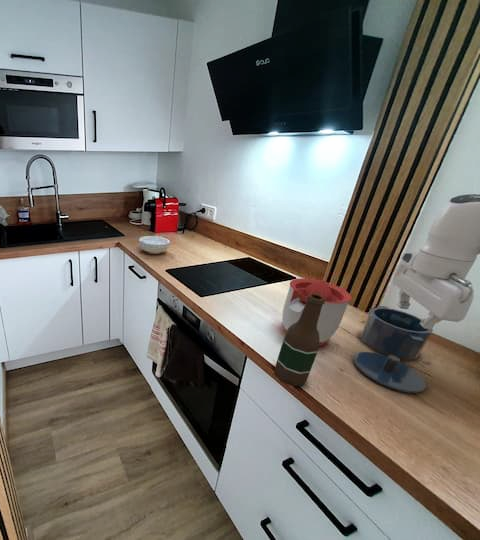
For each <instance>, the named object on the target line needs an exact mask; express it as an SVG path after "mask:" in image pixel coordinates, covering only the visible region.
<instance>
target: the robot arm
mask: <svg viewBox="0 0 480 540" xmlns="http://www.w3.org/2000/svg"><path fill="white" fill-rule="evenodd" d="M478 255H480V194H477V193H476V194H475V193H472V194H471V193H470V194H461V195H457V196H454V197H451V198H450V199H449V200H448V201H446V202H445V203H444V205H442V207H441V209H440V210H439V211H438V212H437V214H436V216H435V217H434V219H433V221H432V223H431V226H430V227H429V229H428V232H427V239H426V240H425V242H424V243H423V244H422V245H421V247H420V248H419V249H418V252H416V251H415V252H412V251H404V252H402V253H401V256H400V260H401V261H400V262H399V263H398V265H397V266H396V270H395V271H394V274H393V276H392V284H393V285H394V286H396V288H398V289H400V290H399V294H398V299H399V300H398V302H397V304H396V305H397V306H398V307H399V308H400V309H402V310H408V309H409V308H410V306H411V303H410V300H411V299H412V300H414V301H415V302H417V303H418V304H420V305H421V306H422V307H423V308H424V309H426V310H427V311H428V314H427V315H428V317H426V318H421V319H422V320H421V322H420V325H421V326H422V327H423V328H425V329H433V328H434V327H435V325H436V324H438V323H440V322H441V321H447V322H454V323H455V322H456V323H459V322H461V321H463V320H465V318H466V317H467V315H468V312H469V311H470V309H471V306H472V303H473V301H474V297H475V293H474V291H475V290H474V288H473V284H472V282H471V281H470V280H468V279H466V278H467V276H468V275H469V273H470V271H471V269H472V267H473V265H474V264H475V262H476V261H477V258H478Z"/></svg>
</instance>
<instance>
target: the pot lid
mask: <svg viewBox="0 0 480 540" xmlns="http://www.w3.org/2000/svg"><path fill="white" fill-rule="evenodd" d="M353 363H354V365H355V367H356V368H357V369H358V370H359V371H360V372H361V373H362V374H364V375H365V376H366V377H368V378H369V379H371V380H372V381H374V382H376V383H378V384H380V385H382V386H384V387H387V388H390V389H391V390H395V391H399V392H403V393H407V394H408V393H409V394H417V393H421V392H423V391H424V390H425V389H426V386H427V385H426V383H427V382H426V381H425V379H424V378H423V377H422V375H421V374H420V373H419V372H418V371H416V370H414V368H412V367H411V366H409V365H407V364H405V363H404V362H402V361H401V359H399V358H397V357H396V356H393V355H389V356H387V355H384V354H382V353H379V352H372V351H362V352H358V353H356V354H355V355H354V357H353Z"/></svg>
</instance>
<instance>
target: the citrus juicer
mask: <svg viewBox="0 0 480 540" xmlns="http://www.w3.org/2000/svg"><path fill="white" fill-rule="evenodd" d="M309 294H316V295H320V296H322V297H323V298H324V299H325V304H323V305H322V308H321V312H320V315H319V319H318V323H317V330H318V332H319V338H320V345H319V347H321V346H323V345H325V344H326V343H327V342H328V341H330V340H331V338H332V337H333V336H334V334H336V332H337V330H338V329H339V327H340V325H341V322H342V320H343V317H344V315H345V312H346V310H347V308H348V306H349V303H350V302H351V301H352V295H351V293H349V292H348V291H347V290H346V289H344V288H343V287H340V286H338V285H336V284H334V283H330V282H328V281H325V280H323V279H320V280H319V279H315V278H314V279H313V278H305V277H304V278H303V277H301V278H294V279H292V280H290V282H289V288H288V291H287V294H286V298H285V301H284V304H283V309H282V317H281V318H282V319H281V320H282V323H281V325H282V330H283V333H284V335H285V334H286V332H287V329H288V328H289V327H290V326H291V325H292V324H294V323H296V322H297V321H298V320H299V318H300V316H301V314H302V311H303V309H304V307H305V304H306V302H307V300H306V299H307V296H308V295H309Z"/></svg>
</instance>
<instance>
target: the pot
mask: <svg viewBox="0 0 480 540" xmlns="http://www.w3.org/2000/svg"><path fill="white" fill-rule="evenodd" d="M422 319H423V318H420V317H418V316H416V315H413V314H411V313H409V312H405V311H402V310H398V309H395V308H389V307H388V306H386V305H385V306H384V305H378V306H377V307H374V308H372V309H370V311H369V314H368V316H367V318H366V320H365V323H364V325H363V327H362V329H361V332H360V335H359V337H360V340H361V341H362V343H364V345H366V346H367V347H369V348H370V349H372V350H373V351H375V352H376V353H378V354H382V355H385V356H389V355H393V356H396V357H397V358H399V359H400V360H403V361H413V360H416V359H418V357H419V356H420V354H421V352H422V351H423V349H424V347H425V345H426V343H427V342H428V340H429V339H430V336H431V335H432V333H433V331H434V330H433V328H432V329H425V328H423V327H422V326H421V325H420V322H421V320H422Z"/></svg>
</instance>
